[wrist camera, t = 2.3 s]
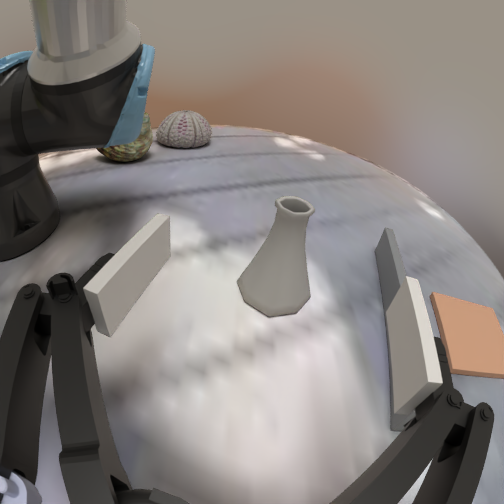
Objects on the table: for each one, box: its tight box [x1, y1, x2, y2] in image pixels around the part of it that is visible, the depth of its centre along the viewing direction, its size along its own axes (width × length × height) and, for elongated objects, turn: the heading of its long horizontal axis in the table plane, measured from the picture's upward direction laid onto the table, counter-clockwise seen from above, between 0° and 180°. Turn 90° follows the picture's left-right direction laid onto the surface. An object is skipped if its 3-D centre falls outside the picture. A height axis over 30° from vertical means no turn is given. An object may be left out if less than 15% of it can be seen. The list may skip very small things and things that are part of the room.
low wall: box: [375, 228, 416, 431], centre depth 28 cm, size 26×1×4 cm, turn 165°
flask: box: [237, 196, 315, 317], centre depth 27 cm, size 7×7×10 cm
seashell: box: [96, 113, 153, 162], centre depth 52 cm, size 11×11×10 cm
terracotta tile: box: [430, 292, 504, 378], centre depth 27 cm, size 12×12×1 cm
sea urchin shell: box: [156, 110, 212, 148], centre depth 64 cm, size 13×14×8 cm
